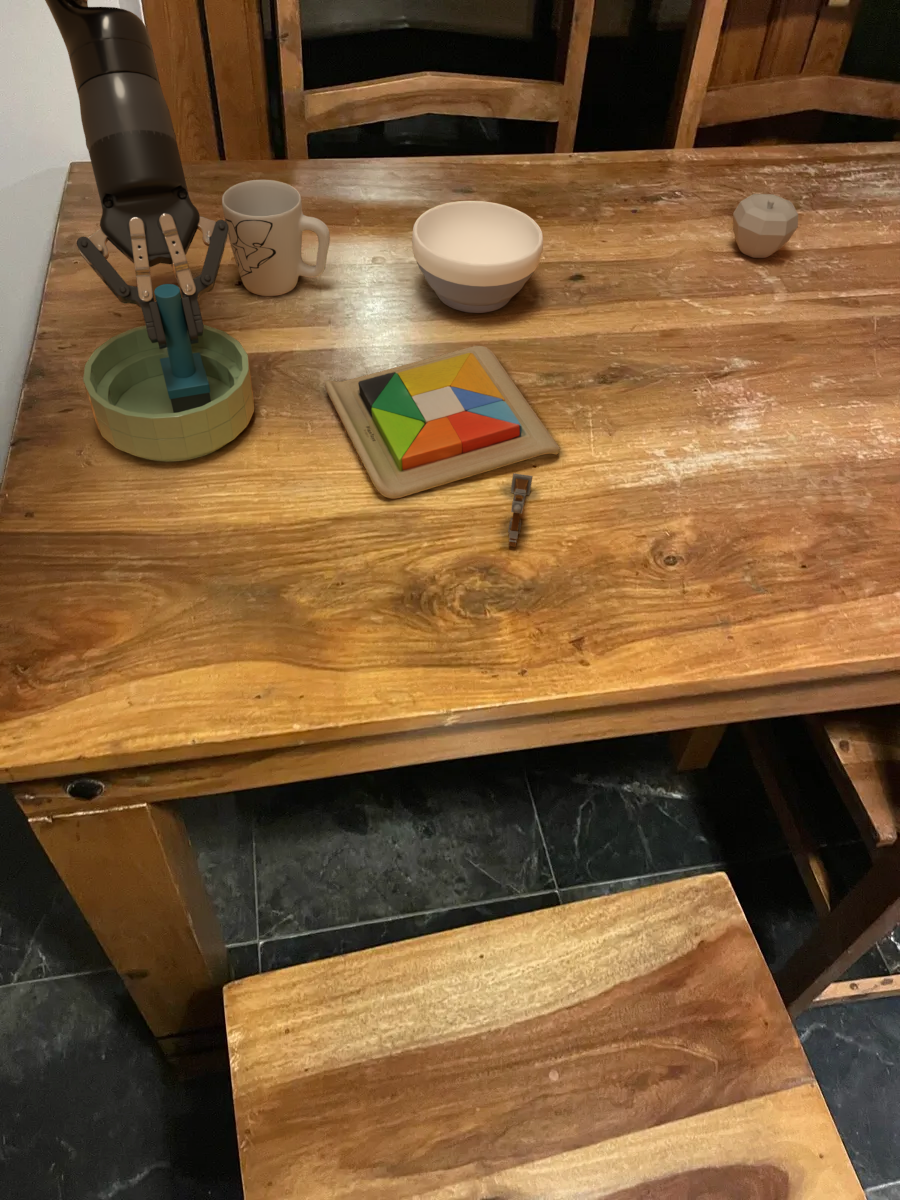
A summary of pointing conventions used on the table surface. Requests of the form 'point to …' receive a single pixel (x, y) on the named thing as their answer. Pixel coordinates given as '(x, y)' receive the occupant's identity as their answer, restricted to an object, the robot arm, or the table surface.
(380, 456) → the wooden puzzle
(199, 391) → the teal peg on base
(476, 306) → the bowl
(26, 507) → the table surface
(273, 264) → the mug
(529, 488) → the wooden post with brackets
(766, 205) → the apple
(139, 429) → the wash bowl
